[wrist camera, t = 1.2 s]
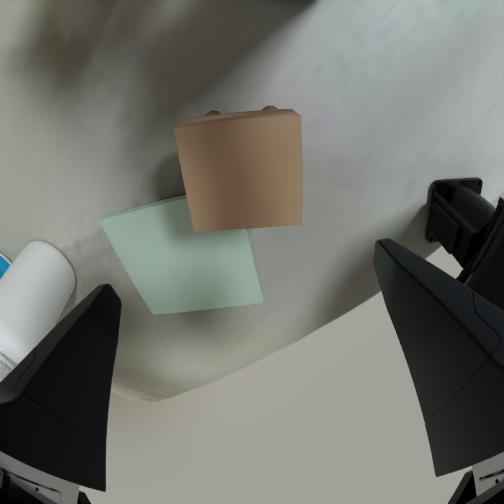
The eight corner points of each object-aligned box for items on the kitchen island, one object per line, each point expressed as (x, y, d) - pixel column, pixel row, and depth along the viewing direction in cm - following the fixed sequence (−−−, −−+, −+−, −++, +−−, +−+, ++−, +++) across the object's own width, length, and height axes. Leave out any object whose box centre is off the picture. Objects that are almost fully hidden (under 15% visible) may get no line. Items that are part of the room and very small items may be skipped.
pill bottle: (35, 282, 26) (-16, 377, 14) (20, 232, 22) (-53, 332, 10) (82, 299, 28) (36, 408, 16) (72, 246, 23) (-1, 371, 11)
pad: (236, 183, 20) (235, 188, 19) (263, 296, 27) (263, 302, 26) (103, 216, 21) (99, 220, 20) (154, 309, 28) (152, 314, 27)
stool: (282, 101, 16) (300, 116, 10) (285, 175, 19) (301, 224, 14) (200, 109, 16) (173, 128, 11) (210, 181, 20) (194, 232, 14)
